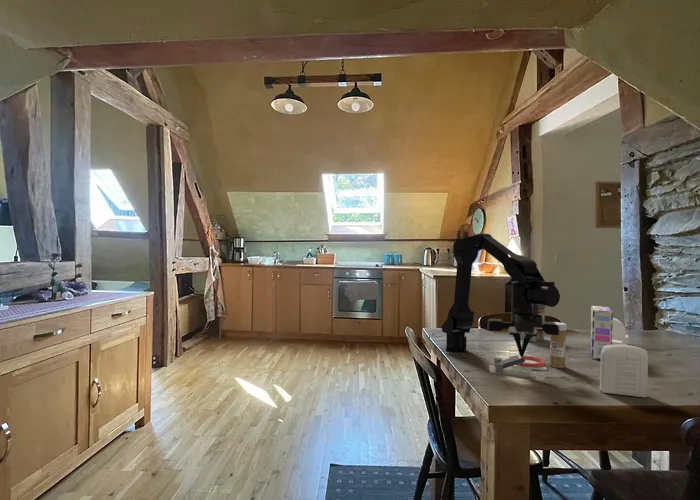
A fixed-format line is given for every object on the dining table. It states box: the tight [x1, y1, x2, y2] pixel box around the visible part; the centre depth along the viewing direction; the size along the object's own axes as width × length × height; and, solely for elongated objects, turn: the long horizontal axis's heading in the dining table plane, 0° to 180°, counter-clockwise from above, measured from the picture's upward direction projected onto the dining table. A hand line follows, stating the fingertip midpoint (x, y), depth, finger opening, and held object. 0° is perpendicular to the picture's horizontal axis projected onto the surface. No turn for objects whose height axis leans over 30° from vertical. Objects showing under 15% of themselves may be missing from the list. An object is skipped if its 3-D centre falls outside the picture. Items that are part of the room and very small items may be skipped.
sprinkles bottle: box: [549, 321, 568, 369], centre depth 126 cm, size 5×5×14 cm
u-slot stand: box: [612, 317, 629, 345], centre depth 154 cm, size 10×18×11 cm, turn 139°
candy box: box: [590, 305, 614, 361], centre depth 139 cm, size 14×6×16 cm, turn 151°
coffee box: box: [519, 304, 546, 342], centre depth 164 cm, size 9×6×16 cm
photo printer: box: [599, 344, 649, 398], centre depth 102 cm, size 10×4×12 cm, turn 72°
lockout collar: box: [507, 354, 548, 371], centre depth 127 cm, size 10×10×2 cm
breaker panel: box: [488, 357, 536, 379], centre depth 119 cm, size 12×7×3 cm, turn 74°
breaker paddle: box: [498, 354, 525, 369], centre depth 119 cm, size 1×4×8 cm
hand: (521, 355), depth 118 cm, fingers closed
